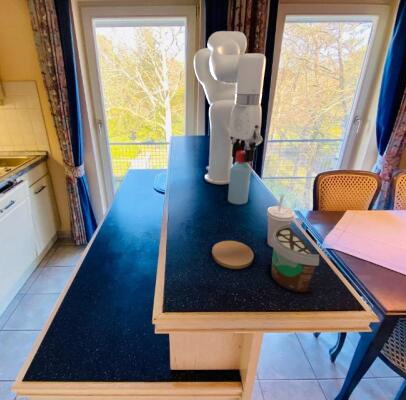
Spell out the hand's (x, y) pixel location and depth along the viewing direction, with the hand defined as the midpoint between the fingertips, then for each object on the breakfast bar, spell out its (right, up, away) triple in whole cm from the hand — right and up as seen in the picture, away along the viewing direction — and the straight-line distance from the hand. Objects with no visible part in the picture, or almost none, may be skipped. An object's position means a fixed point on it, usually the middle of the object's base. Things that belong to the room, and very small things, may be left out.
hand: (242, 158), depth 87 cm
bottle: (0, -14, +7) cm, 15 cm away
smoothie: (+4, -25, -17) cm, 31 cm away
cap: (0, -1, +1) cm, 1 cm away
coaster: (-8, -27, -22) cm, 36 cm away
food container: (+1, -31, -29) cm, 42 cm away
